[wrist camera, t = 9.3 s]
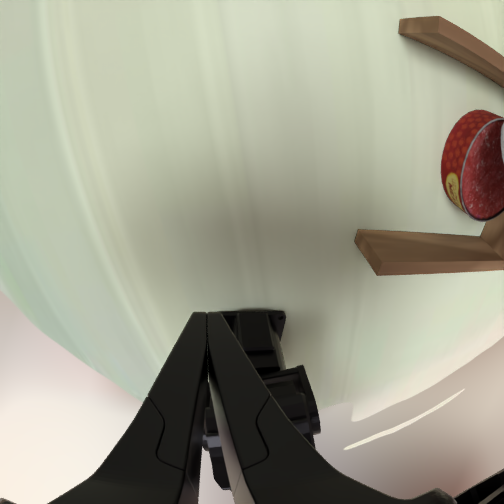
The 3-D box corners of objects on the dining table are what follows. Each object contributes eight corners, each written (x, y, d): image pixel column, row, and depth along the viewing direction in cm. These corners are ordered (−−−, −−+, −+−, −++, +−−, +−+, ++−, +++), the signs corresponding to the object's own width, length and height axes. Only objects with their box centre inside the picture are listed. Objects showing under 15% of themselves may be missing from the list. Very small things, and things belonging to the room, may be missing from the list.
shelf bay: (481, 245, 27) (504, 269, 23) (354, 241, 24) (376, 275, 21) (528, 94, 17) (560, 106, 13) (399, 19, 14) (439, 16, 10)
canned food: (419, 113, 23) (482, 79, 13) (490, 128, 23) (552, 110, 13) (428, 234, 24) (499, 247, 14) (497, 232, 24) (564, 243, 14)
